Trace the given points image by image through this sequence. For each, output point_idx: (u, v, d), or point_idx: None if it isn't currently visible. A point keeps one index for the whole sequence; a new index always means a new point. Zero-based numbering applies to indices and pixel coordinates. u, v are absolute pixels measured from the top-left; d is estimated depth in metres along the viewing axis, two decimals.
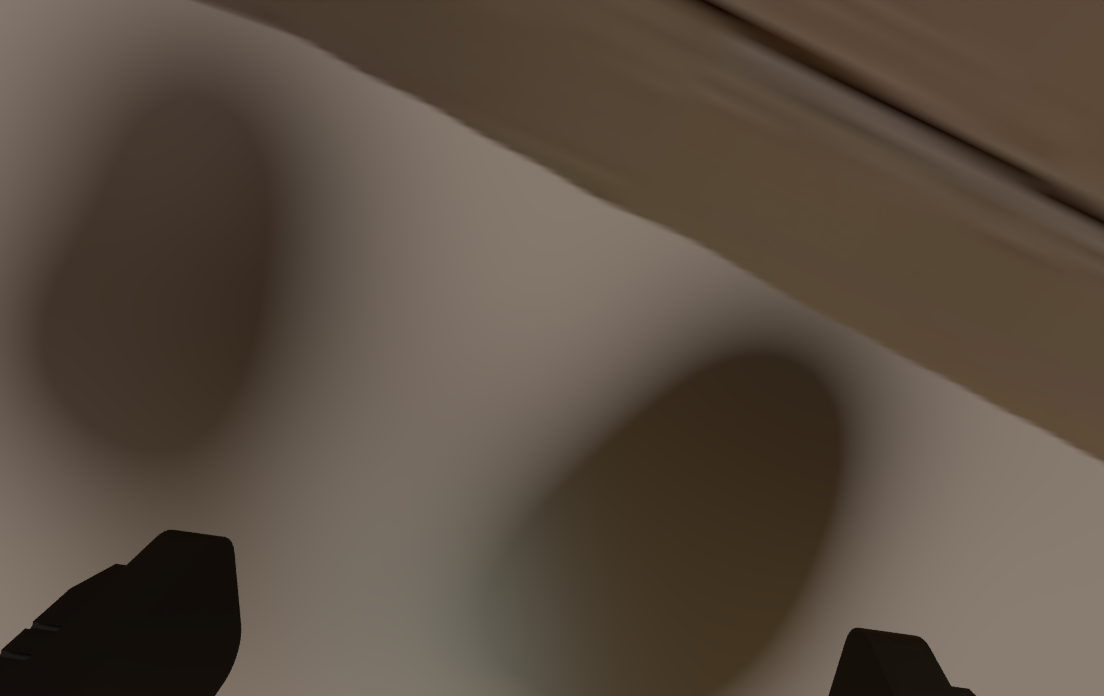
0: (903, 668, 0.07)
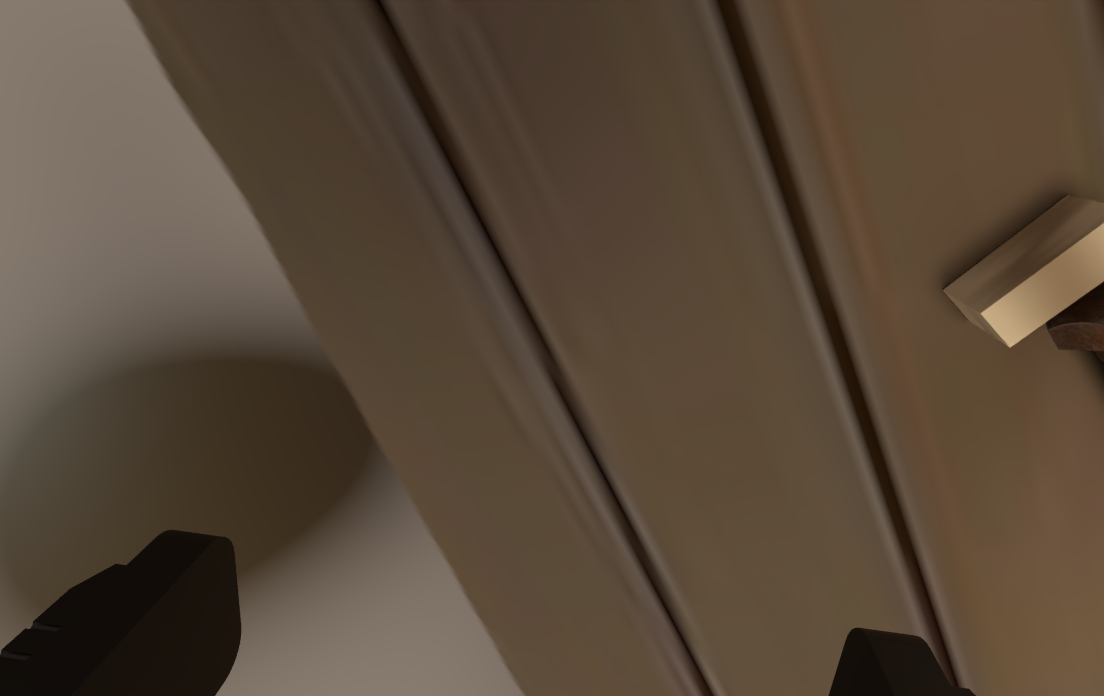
0: (903, 667, 0.07)
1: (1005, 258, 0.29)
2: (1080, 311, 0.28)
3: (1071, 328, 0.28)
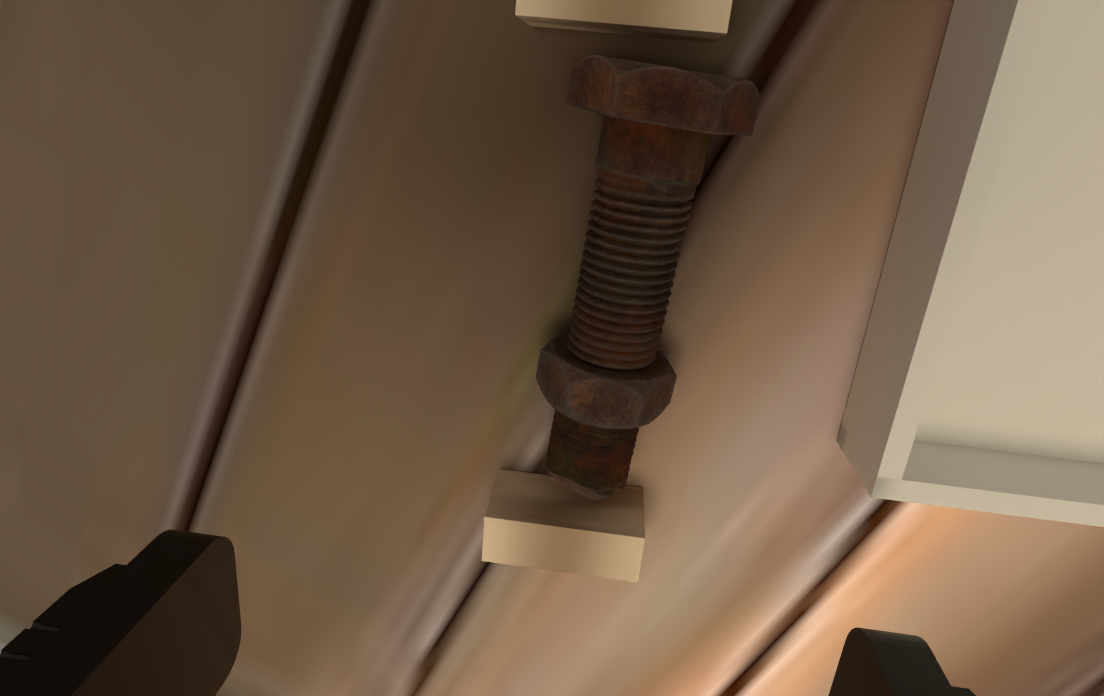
0: (903, 668, 0.07)
1: None
2: None
3: (587, 65, 0.20)
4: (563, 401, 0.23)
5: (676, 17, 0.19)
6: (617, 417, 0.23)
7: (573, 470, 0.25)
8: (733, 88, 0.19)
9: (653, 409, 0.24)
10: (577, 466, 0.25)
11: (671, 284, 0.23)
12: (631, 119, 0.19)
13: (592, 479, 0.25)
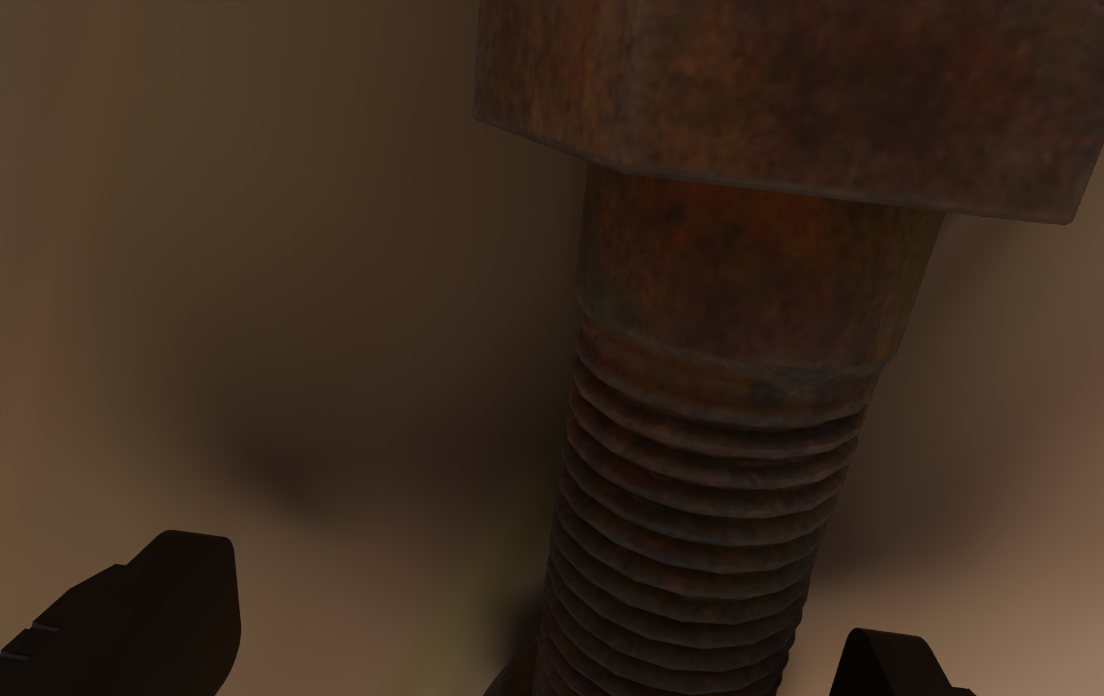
0: (903, 668, 0.07)
1: None
2: None
3: None
4: None
5: None
6: None
7: None
8: None
9: None
10: None
11: None
12: (707, 178, 0.04)
13: None
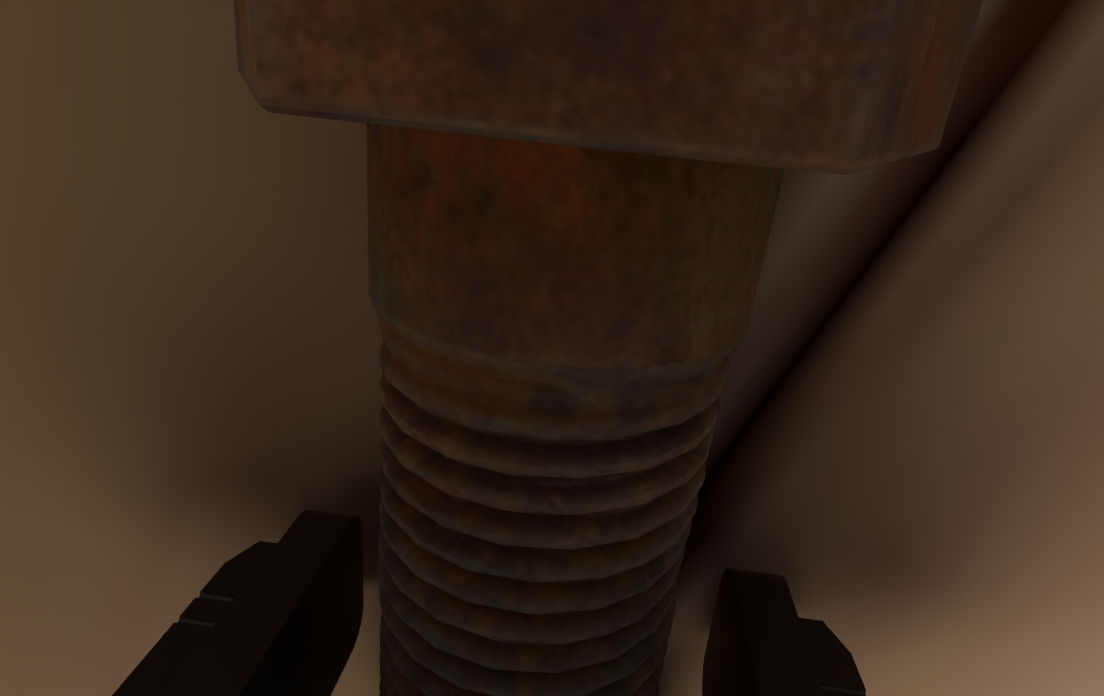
0: (757, 599, 0.08)
1: None
2: None
3: None
4: None
5: None
6: None
7: None
8: None
9: None
10: None
11: None
12: (372, 116, 0.03)
13: None
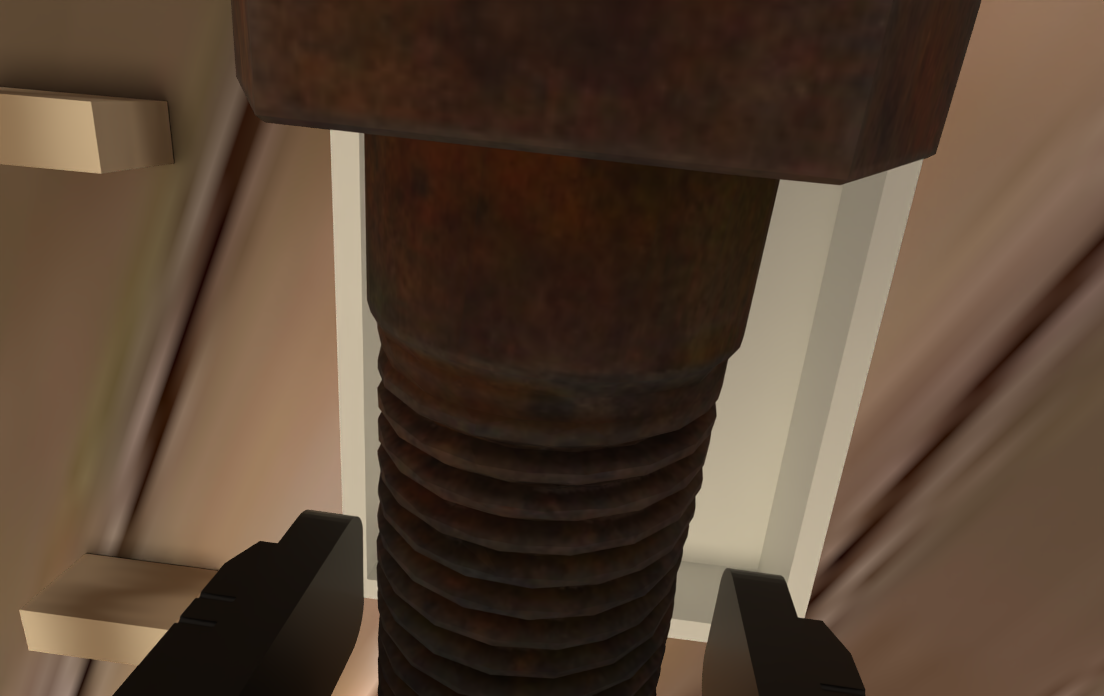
0: (757, 599, 0.08)
1: (38, 92, 0.22)
2: None
3: None
4: None
5: (52, 159, 0.20)
6: None
7: None
8: None
9: None
10: None
11: None
12: (368, 127, 0.03)
13: None
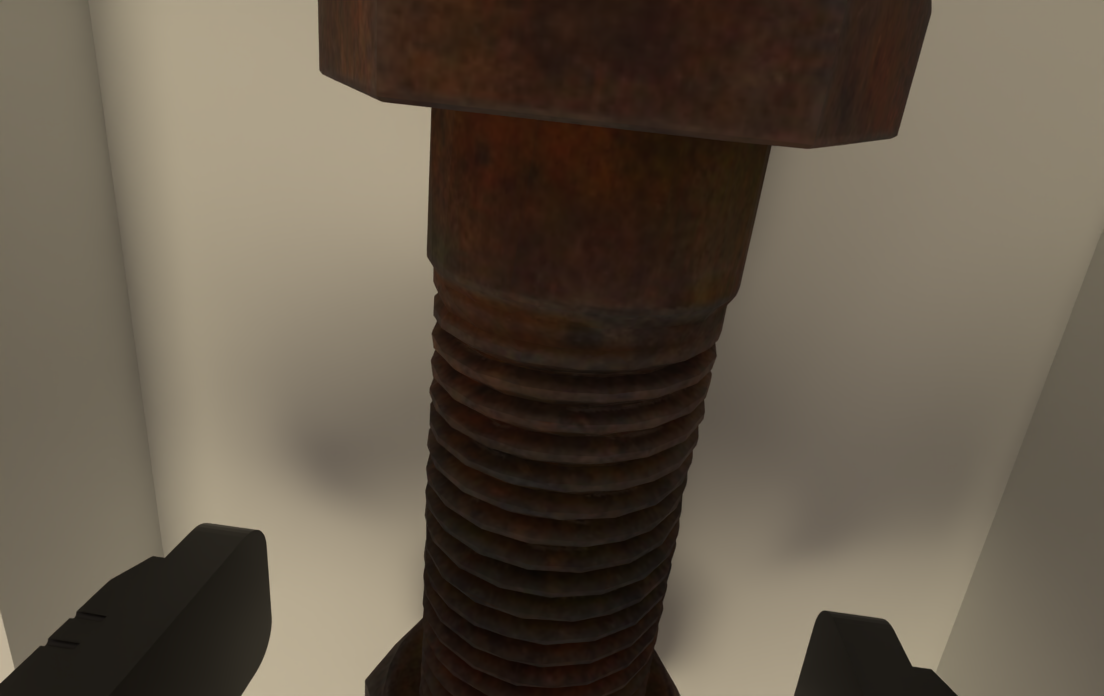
0: (866, 648, 0.08)
1: None
2: None
3: None
4: None
5: None
6: None
7: None
8: None
9: None
10: None
11: (670, 552, 0.08)
12: (460, 105, 0.05)
13: None
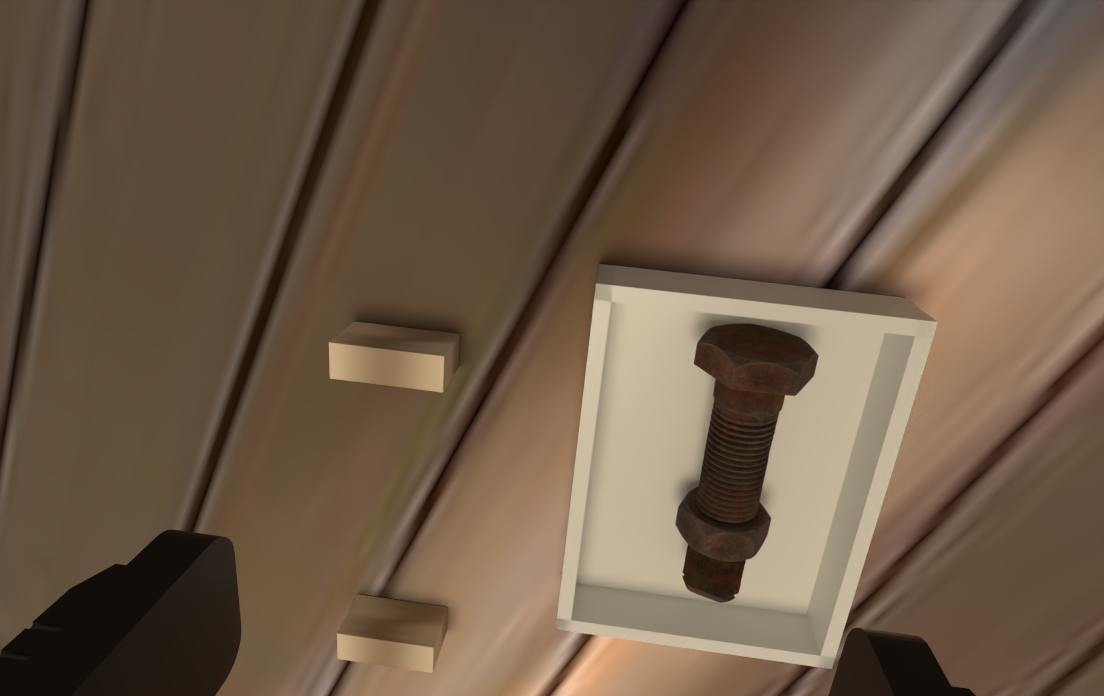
0: (903, 668, 0.07)
1: (390, 333, 0.37)
2: (723, 342, 0.32)
3: (709, 349, 0.32)
4: (700, 546, 0.35)
5: (415, 383, 0.35)
6: (738, 555, 0.35)
7: (706, 586, 0.37)
8: (805, 367, 0.31)
9: (759, 545, 0.36)
10: (709, 583, 0.37)
11: (766, 465, 0.35)
12: (743, 390, 0.31)
13: (719, 591, 0.37)
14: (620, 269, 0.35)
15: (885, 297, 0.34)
